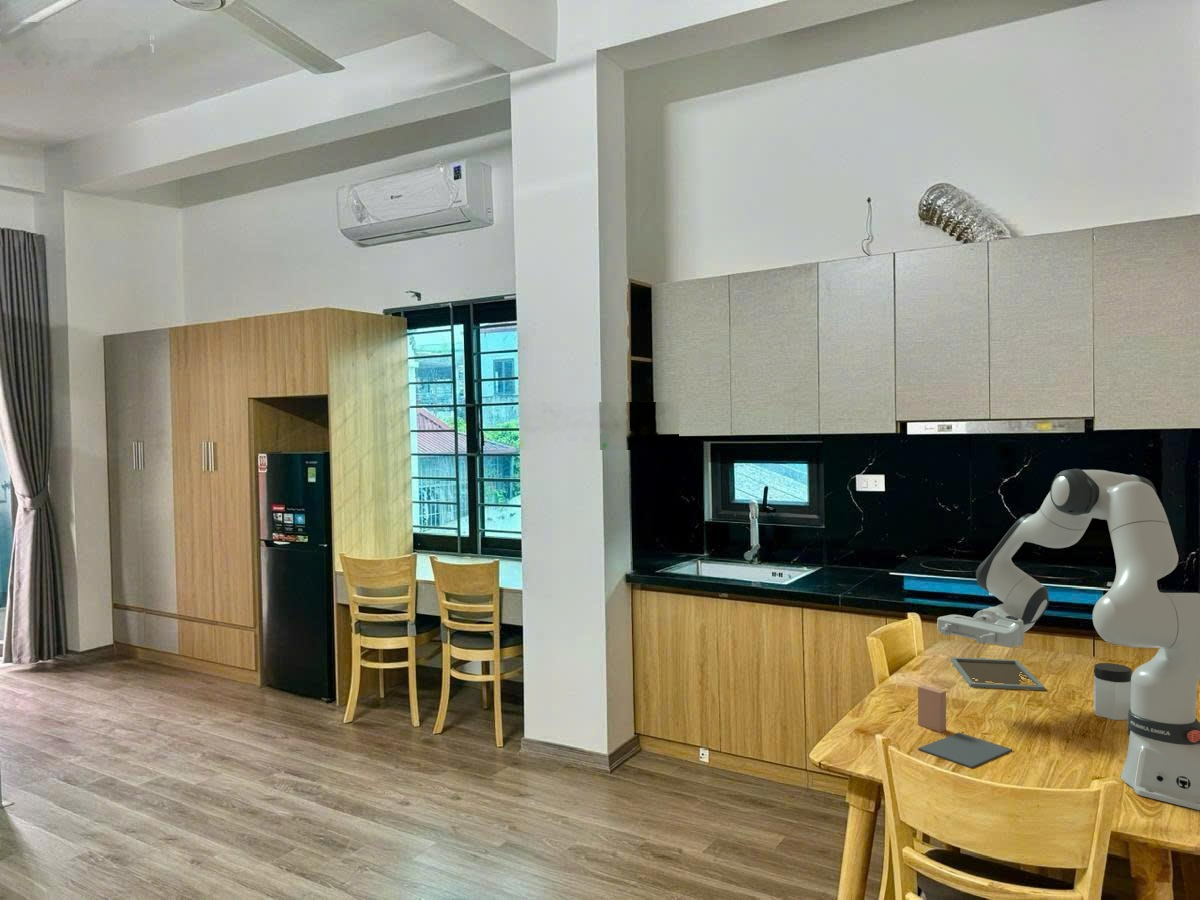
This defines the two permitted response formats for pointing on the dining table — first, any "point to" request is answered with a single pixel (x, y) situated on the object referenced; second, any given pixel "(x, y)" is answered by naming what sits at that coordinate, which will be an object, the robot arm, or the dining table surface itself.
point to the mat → (965, 750)
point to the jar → (1112, 690)
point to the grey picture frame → (995, 673)
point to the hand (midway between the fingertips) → (960, 635)
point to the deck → (932, 708)
